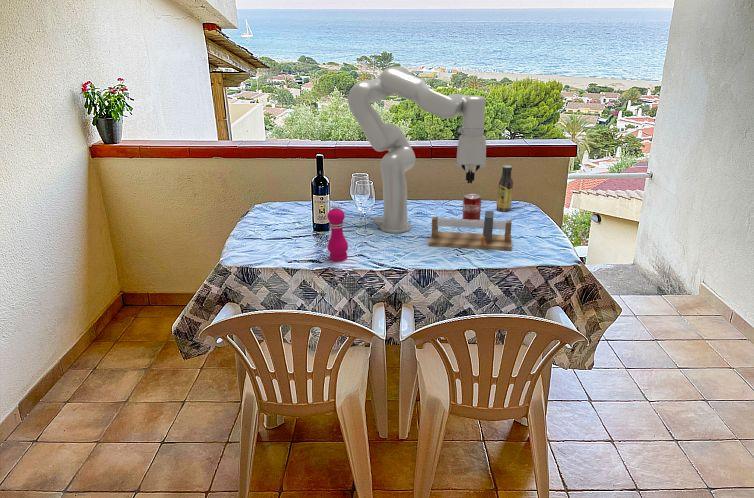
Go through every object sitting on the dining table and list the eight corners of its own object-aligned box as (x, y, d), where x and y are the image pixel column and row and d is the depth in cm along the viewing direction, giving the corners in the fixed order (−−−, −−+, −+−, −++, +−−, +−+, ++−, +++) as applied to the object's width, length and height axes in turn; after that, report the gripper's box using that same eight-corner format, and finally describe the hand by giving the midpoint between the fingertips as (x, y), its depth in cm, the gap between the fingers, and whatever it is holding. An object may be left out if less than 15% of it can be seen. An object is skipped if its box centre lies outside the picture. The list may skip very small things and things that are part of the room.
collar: (483, 238, 190) (484, 217, 187) (484, 230, 197) (485, 210, 194) (491, 238, 189) (493, 217, 186) (492, 231, 197) (493, 211, 193)
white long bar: (437, 226, 195) (437, 220, 194) (437, 223, 197) (438, 217, 196) (505, 229, 190) (505, 223, 189) (505, 227, 192) (505, 221, 191)
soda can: (479, 227, 211) (481, 199, 207) (461, 226, 213) (462, 198, 208) (480, 221, 218) (481, 193, 213) (462, 220, 219) (463, 193, 215)
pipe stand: (428, 245, 194) (428, 223, 190) (432, 234, 205) (433, 212, 201) (511, 250, 187) (513, 227, 184) (511, 239, 198) (512, 216, 195)
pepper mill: (348, 254, 189) (346, 201, 181) (348, 261, 182) (345, 207, 174) (328, 254, 188) (325, 201, 181) (327, 262, 182) (324, 208, 174)
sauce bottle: (493, 208, 233) (496, 165, 226) (506, 207, 235) (509, 163, 227) (501, 212, 227) (504, 168, 220) (513, 211, 229) (517, 166, 222)
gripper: (450, 133, 182) (448, 184, 189) (494, 134, 179) (490, 186, 186) (452, 129, 188) (450, 178, 196) (494, 130, 185) (490, 180, 192)
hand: (469, 182), depth 191 cm, fingers closed
